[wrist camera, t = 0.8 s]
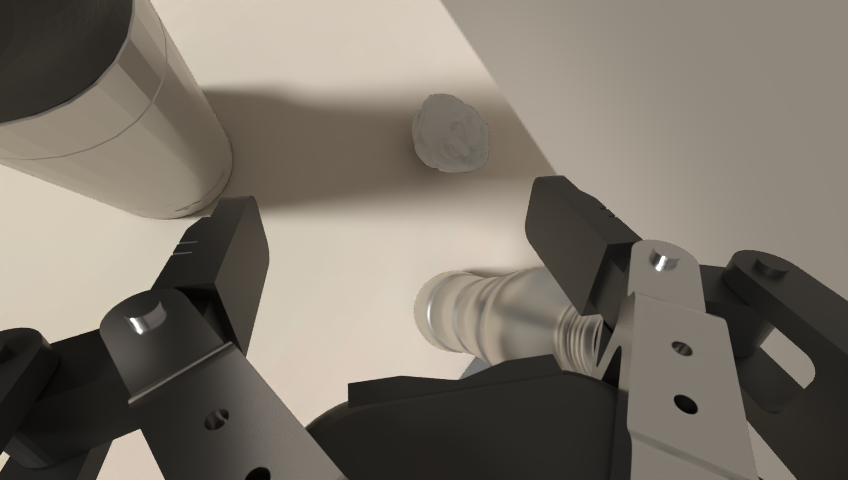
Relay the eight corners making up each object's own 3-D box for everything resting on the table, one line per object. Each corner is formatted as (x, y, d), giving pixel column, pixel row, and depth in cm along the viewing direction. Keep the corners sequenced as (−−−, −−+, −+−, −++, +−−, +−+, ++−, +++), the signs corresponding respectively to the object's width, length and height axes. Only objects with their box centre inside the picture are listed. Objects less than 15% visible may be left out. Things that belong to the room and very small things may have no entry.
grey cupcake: (426, 199, 33) (455, 180, 27) (387, 130, 33) (406, 92, 26) (479, 170, 35) (519, 145, 29) (443, 104, 35) (474, 62, 28)
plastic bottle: (402, 277, 32) (538, 273, 13) (474, 266, 34) (682, 249, 15) (413, 353, 32) (569, 464, 13) (485, 337, 34) (713, 412, 15)
